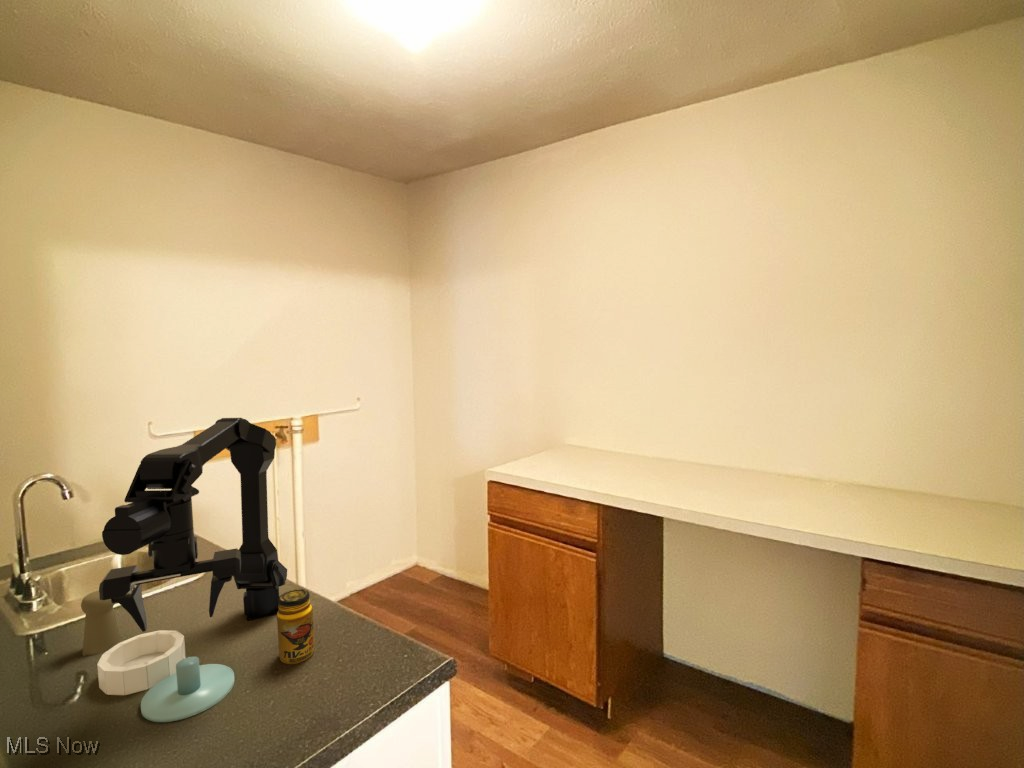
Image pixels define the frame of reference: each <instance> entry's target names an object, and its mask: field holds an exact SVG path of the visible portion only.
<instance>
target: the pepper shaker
mask: <svg viewBox="0 0 1024 768" xmlns="http://www.w3.org/2000/svg"><path fill="white" fill-rule="evenodd" d="M114 605H116V603H114V604H113V603H111V599H108V600H100V596H99V589H98V590H95V591H92V592H90V593H88V594H87V595H85V596H84V597H83V598H82V600H81V603H80V607H81V610H82V612H83V613H85V616H84V617H85V618H84V627H83V628H84V631H83V641H82V642H83V643H82V654H81V655H82V656H83V657H86V656H93V655H99V654H104V653H105V652H106V651H108V650H109V649H111V648H112V647H114V646H115V645H117V644H119V643H120V642H123V639H122V636H121V632H120V627H119V623H118V620H117V617H116V612H115V609H114Z"/></svg>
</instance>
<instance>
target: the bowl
mask: <svg viewBox="0 0 1024 768" xmlns="http://www.w3.org/2000/svg"><path fill="white" fill-rule="evenodd" d="M101 654H102V655H101V656H100V658H99V661H97V663H96V664H97V665H96V666H97V677H98V679H97V680H98V688H99V690H101V691H102V692H103V693H104V694H105V695H108V696H109V695H111V696H127V695H132V694H134V693H135V694H136V693H139V692H143V691H146V690H147V691H148V690H150V689H151V688H152V687H153V686H154V685H156V684H157V683H158V682H160V681H161V680H163V679H165V678H166V677H168V676H170V675H172V674H174V673H176V664H177V663H178V662H179V661H181V660H182V659H185V658H187V657H186V645H185V636H184V635H183V634H182V633H181V632H179V631H178V630H162V629H160V630H155V631H151V632H150V631H149V632H146V633H145V632H144V633H141V634H138V635H135V636H133V637H131V638H128V639H125V640H122V642H120V643H119V644H117V645H115V646H114V647H112V648H111V649H109V650H108V651H106V652H103V653H101Z"/></svg>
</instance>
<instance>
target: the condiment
mask: <svg viewBox="0 0 1024 768" xmlns="http://www.w3.org/2000/svg"><path fill="white" fill-rule="evenodd" d="M310 596H311V595H310V592H309V591H308V590H307V589H305V588H294V589H290V590H287V591H285V592H283V593H282V594H281V595H279V599H278V602H279V606H278V608H279V610H278V612H277V615H276V623H277V638H278V639H277V640H278V658H279V660H280V662H281V663H282V664H286V665H295V664H300V663H302V662H304V661H306V660H309V659H310V658H311V657H312V656H313V655H314V651H315V645H316V643H315V628H314V611H313V610H314V609H313V605H312V604H311V598H310Z"/></svg>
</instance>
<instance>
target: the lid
mask: <svg viewBox="0 0 1024 768" xmlns="http://www.w3.org/2000/svg"><path fill="white" fill-rule="evenodd" d="M234 685H235V673H234V671H233V669H232V668H231V667H229V666H228V665H225V664H219V663H207V664H202V665H200V658H199V657H198V656H188V657H186V658H185V659H182V660H181V661H179V662H178V663H177V664H176V673H174V674H172V675H170V676H168V677H166V678H165V679H163V680H161V681H160V682H158V683H157V684H156V685H154V686H153V687H152V688H150V689H148V690H147V692H146V693H144V696H143V697H142V699H141V700H140V711H141V712H140V713H141V716H142V717H143V718H145V719H146V720H148V721H149V722H154V723H171V722H177V721H181V720H185V719H187V718H188V719H189V718H191V717H193V716H196V715H199V714H201V713H202V712H203V713H204V712H205V711H207V710H208V709H210V708H212V707H214V706H216V705H217V704H218V703H219V702H221V701H222V700H223V699H225V697H226V696H228V694H229V693H230V692H231V691H232V689H233V688H234Z"/></svg>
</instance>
